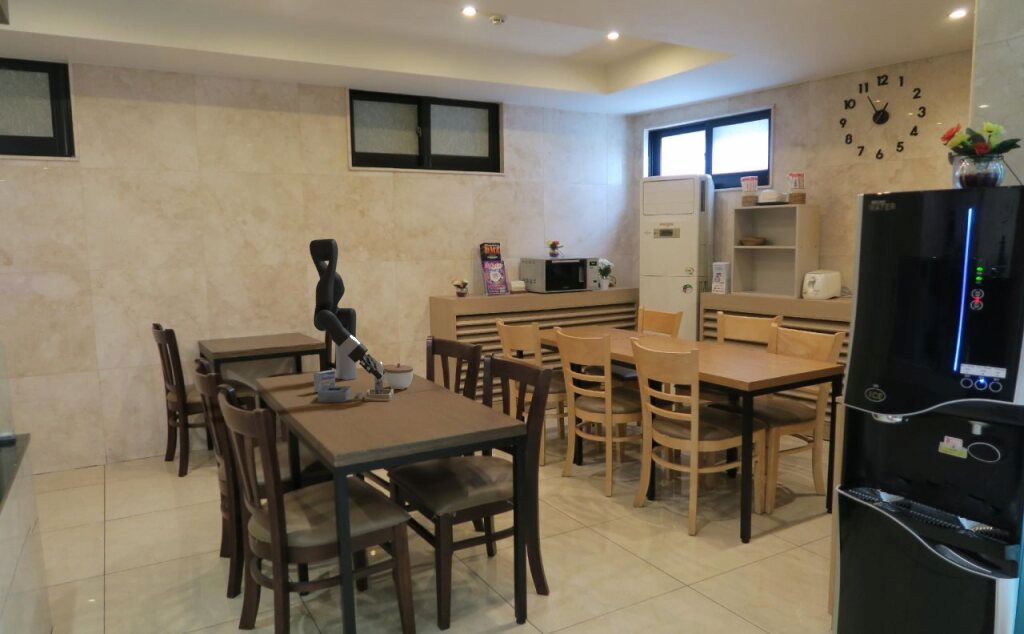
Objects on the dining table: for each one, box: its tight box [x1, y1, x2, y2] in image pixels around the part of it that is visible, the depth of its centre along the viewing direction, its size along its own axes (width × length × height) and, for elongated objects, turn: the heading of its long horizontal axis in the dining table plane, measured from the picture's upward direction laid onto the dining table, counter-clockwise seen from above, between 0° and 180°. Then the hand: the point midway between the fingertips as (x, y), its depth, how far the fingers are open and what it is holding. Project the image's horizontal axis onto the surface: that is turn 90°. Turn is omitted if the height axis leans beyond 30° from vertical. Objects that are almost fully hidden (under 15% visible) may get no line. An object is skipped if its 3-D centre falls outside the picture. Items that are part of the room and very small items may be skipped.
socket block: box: [317, 385, 352, 403], centre depth 276 cm, size 11×11×4 cm
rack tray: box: [363, 388, 395, 402], centre depth 278 cm, size 10×10×2 cm
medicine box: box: [313, 369, 336, 393], centre depth 290 cm, size 8×4×9 cm, turn 143°
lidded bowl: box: [383, 362, 414, 390], centre depth 297 cm, size 13×13×11 cm
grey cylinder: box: [373, 361, 384, 394], centre depth 278 cm, size 4×4×14 cm
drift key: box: [354, 392, 363, 399], centre depth 281 cm, size 7×2×1 cm, turn 3°
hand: (382, 376), depth 278 cm, fingers open, 8 cm apart
